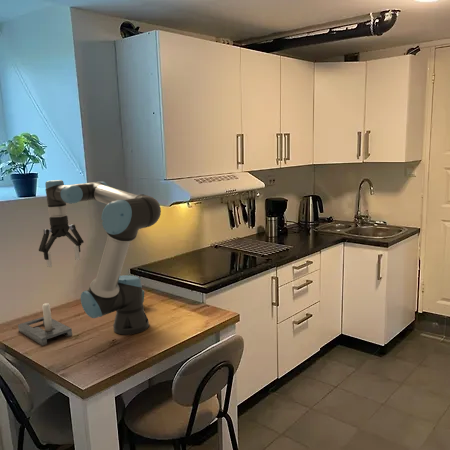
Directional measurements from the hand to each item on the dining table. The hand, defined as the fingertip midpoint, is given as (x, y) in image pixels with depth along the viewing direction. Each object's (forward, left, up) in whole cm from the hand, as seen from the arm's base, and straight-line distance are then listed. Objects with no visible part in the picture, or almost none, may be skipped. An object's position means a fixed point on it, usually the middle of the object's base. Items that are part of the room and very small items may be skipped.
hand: (63, 263), depth 198 cm
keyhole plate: (0, +12, -29) cm, 31 cm away
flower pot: (-6, -30, -29) cm, 42 cm away
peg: (-4, +12, -29) cm, 31 cm away
